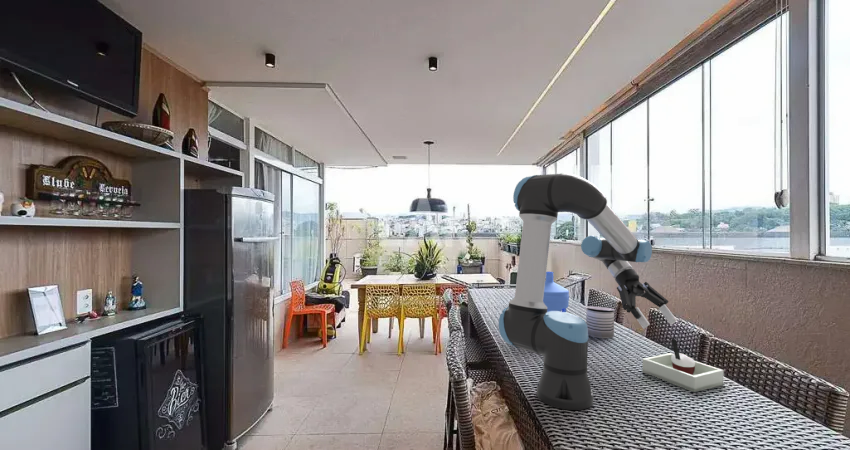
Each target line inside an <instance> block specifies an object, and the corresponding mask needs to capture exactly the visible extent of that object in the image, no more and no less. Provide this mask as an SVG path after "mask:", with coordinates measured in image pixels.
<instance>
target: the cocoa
mask: <svg viewBox="0 0 850 450" xmlns="http://www.w3.org/2000/svg"><path fill="white" fill-rule="evenodd" d="M670 341H671V344H672V345H671V346H672V349H673V353H672V354H673V355H672V356H671V360H672V366H673V368H674V369H677V370H679V371H682V372H685V373H688V374H691V375H693V374H694V371H695V365H696V364H695V362H694V361H695V360H694V358H692V357H689V356H687V355H686V354H684V353H682V352H681V353H680V352H679V348H678V347H679V346H678V343H677V339H676V338H673V337H671V339H670Z"/></svg>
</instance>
